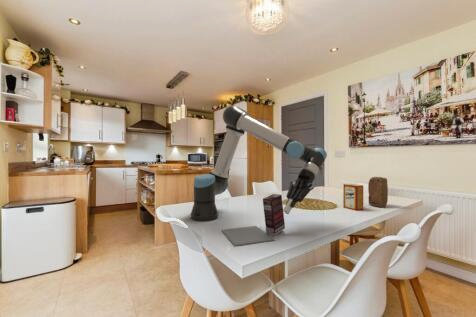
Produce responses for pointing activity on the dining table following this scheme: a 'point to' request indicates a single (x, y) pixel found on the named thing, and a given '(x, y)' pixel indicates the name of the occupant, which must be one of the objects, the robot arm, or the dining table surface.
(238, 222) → the dining table surface
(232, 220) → the dining table surface
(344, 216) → the dining table surface
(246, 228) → the mat
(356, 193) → the baking soda box
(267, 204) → the supplement box
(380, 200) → the block
